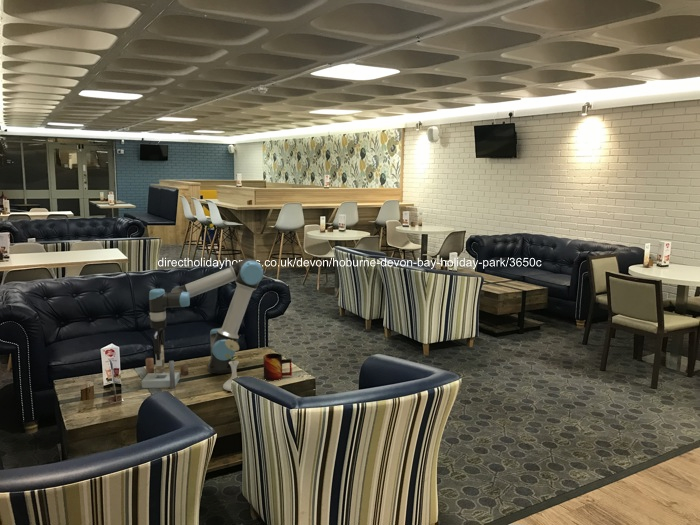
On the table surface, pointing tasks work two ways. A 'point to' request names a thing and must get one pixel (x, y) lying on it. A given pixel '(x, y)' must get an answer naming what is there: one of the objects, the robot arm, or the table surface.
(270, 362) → the mug
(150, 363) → the medium pin
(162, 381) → the hole plate
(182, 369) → the short pin
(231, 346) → the flower in vase
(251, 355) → the table surface
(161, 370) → the long pin
